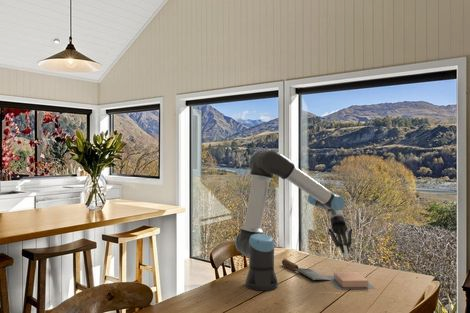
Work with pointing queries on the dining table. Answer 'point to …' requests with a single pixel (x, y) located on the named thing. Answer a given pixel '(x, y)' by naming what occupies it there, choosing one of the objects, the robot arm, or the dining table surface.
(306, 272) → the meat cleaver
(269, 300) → the dining table surface
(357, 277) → the tile
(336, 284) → the mat
